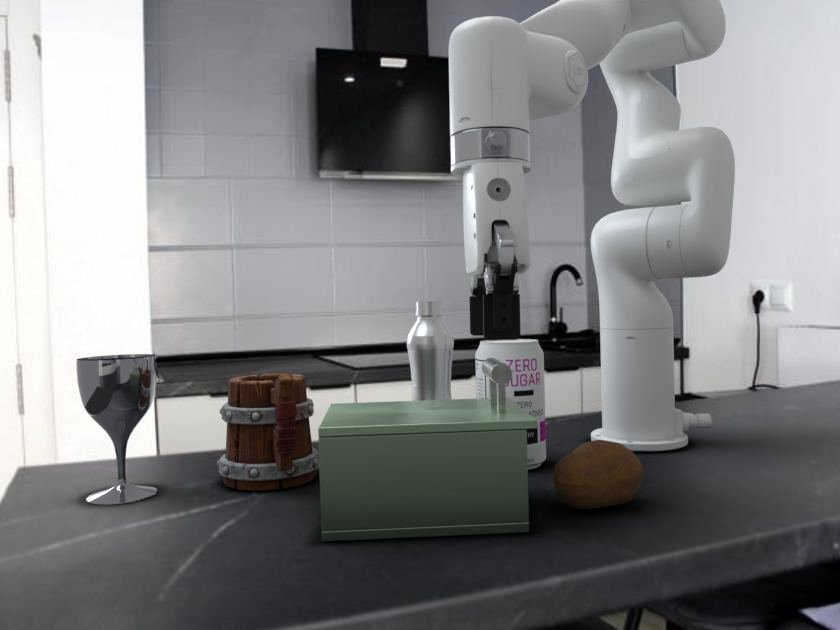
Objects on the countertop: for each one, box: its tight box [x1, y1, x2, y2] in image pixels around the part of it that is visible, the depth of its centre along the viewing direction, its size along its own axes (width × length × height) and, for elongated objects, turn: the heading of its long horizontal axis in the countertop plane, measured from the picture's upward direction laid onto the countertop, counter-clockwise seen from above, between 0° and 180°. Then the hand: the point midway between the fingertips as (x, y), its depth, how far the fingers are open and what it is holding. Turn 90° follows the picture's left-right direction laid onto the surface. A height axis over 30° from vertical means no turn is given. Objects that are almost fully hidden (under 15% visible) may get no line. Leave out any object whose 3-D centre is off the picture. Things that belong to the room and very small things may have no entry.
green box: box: [317, 429, 530, 543], centre depth 67 cm, size 18×14×9 cm
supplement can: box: [474, 338, 547, 470], centre depth 85 cm, size 8×8×15 cm
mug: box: [216, 373, 319, 492], centre depth 80 cm, size 12×14×15 cm
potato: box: [553, 440, 644, 510], centre depth 68 cm, size 7×10×6 cm
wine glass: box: [75, 353, 158, 506], centre depth 76 cm, size 8×8×15 cm
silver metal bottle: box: [406, 300, 455, 401], centre depth 94 cm, size 6×7×20 cm
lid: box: [317, 358, 537, 438], centre depth 67 cm, size 19×14×5 cm
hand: (493, 337), depth 67 cm, fingers open, 9 cm apart
